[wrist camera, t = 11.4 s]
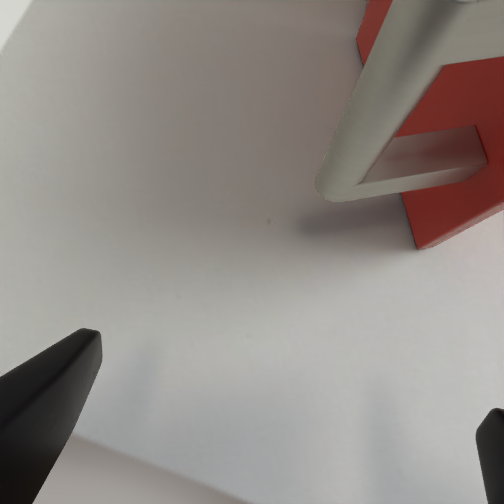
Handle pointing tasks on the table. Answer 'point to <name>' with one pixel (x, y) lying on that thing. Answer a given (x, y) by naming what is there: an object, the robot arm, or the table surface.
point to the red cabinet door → (425, 115)
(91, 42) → the table surface
